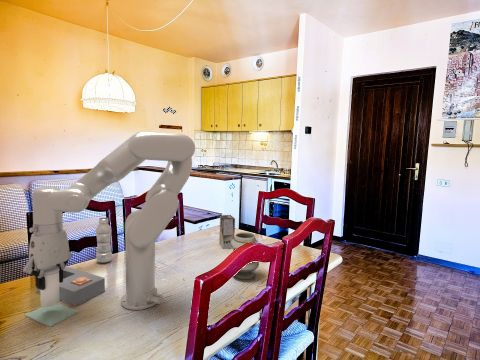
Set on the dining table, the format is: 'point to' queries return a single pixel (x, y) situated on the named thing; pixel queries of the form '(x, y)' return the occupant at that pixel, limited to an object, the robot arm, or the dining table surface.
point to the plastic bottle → (103, 241)
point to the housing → (79, 293)
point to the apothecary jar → (246, 272)
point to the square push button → (81, 281)
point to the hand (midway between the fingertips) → (50, 284)
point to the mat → (51, 314)
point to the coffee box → (226, 231)
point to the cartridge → (50, 287)
